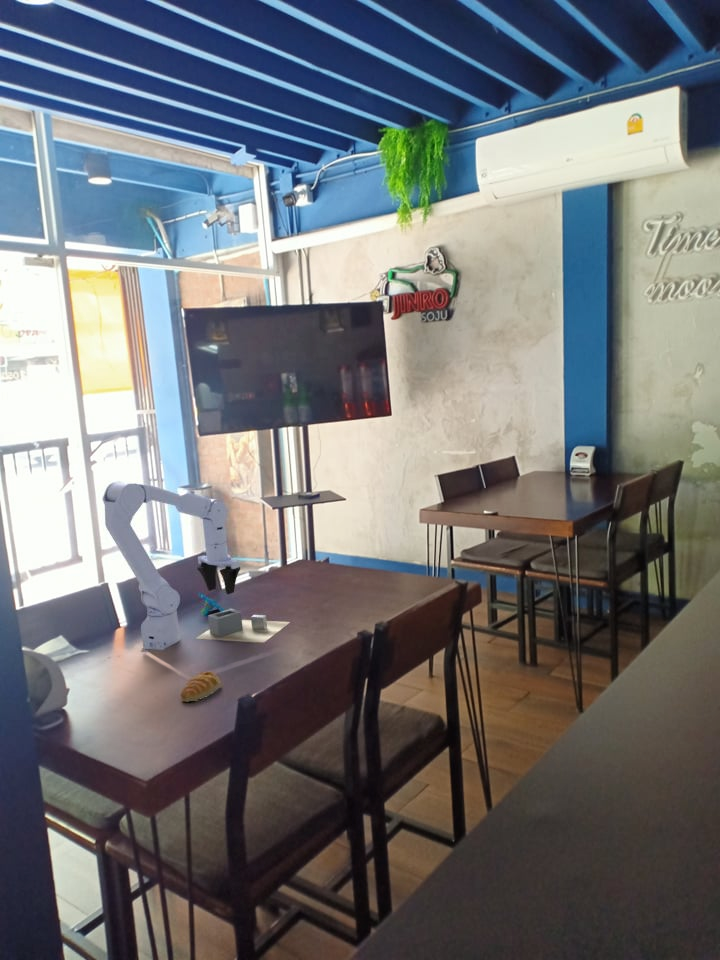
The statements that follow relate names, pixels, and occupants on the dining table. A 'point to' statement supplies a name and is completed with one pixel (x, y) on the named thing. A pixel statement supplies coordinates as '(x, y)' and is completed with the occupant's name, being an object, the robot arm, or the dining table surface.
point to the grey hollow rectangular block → (225, 623)
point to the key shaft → (259, 622)
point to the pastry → (200, 686)
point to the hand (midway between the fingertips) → (221, 591)
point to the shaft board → (249, 632)
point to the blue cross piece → (209, 605)
